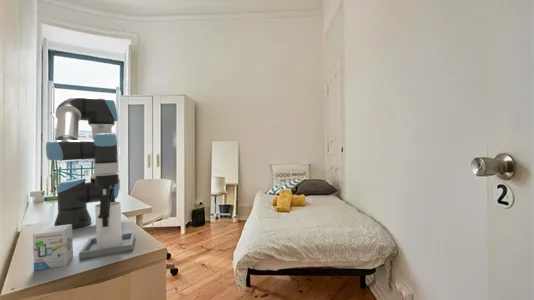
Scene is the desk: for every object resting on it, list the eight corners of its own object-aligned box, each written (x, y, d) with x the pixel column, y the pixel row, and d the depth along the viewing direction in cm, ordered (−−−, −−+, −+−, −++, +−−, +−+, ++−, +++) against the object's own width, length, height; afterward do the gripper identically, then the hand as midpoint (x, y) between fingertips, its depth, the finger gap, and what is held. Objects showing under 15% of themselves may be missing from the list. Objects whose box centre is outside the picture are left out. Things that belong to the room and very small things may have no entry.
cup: (110, 250, 95) (108, 206, 95) (91, 249, 96) (89, 206, 96) (127, 242, 103) (125, 201, 103) (109, 241, 104) (107, 201, 104)
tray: (89, 244, 104) (89, 238, 104) (134, 237, 110) (134, 232, 110) (79, 259, 89) (78, 253, 89) (131, 251, 95) (131, 244, 95)
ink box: (33, 271, 82) (31, 234, 82) (43, 261, 89) (42, 227, 89) (66, 265, 85) (65, 230, 85) (73, 256, 93) (72, 223, 93)
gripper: (101, 172, 109) (103, 223, 110) (87, 178, 86) (90, 242, 87) (121, 171, 112) (123, 220, 112) (113, 176, 89) (116, 238, 90)
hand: (109, 230), depth 100 cm, fingers open, 13 cm apart
